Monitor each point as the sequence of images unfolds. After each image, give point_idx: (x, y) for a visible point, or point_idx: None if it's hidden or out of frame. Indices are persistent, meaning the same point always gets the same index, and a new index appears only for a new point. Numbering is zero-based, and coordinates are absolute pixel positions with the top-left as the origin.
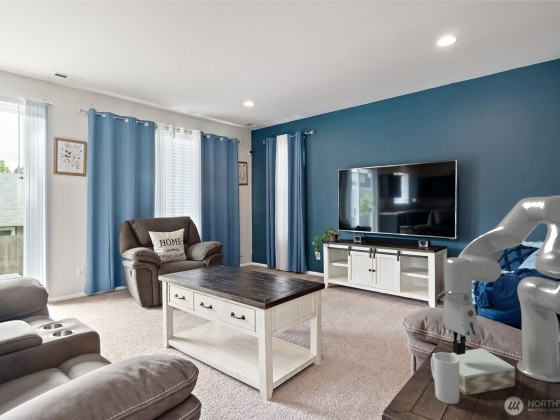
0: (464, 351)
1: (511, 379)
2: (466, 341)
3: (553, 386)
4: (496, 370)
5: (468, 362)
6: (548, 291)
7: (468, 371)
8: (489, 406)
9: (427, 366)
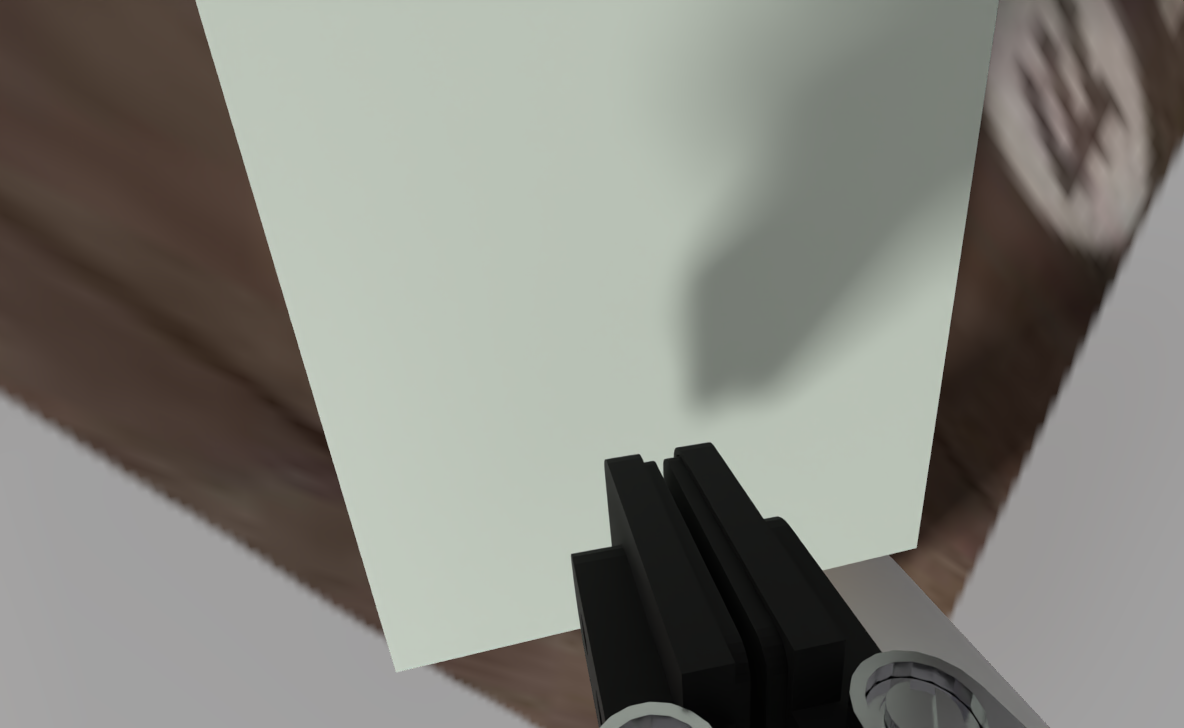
0: (784, 527)
1: None
2: (963, 685)
3: None
4: (994, 12)
5: (675, 321)
6: None
7: (861, 457)
8: (986, 334)
9: (228, 506)
